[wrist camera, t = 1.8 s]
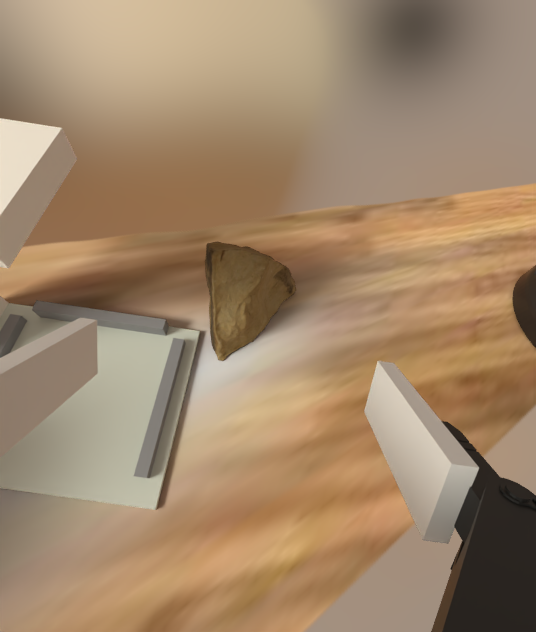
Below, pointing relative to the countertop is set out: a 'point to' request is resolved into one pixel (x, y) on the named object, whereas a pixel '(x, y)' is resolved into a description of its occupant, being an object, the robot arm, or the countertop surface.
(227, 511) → the countertop surface
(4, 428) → the robot arm
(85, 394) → the shelf unit
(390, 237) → the countertop surface
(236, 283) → the rock
